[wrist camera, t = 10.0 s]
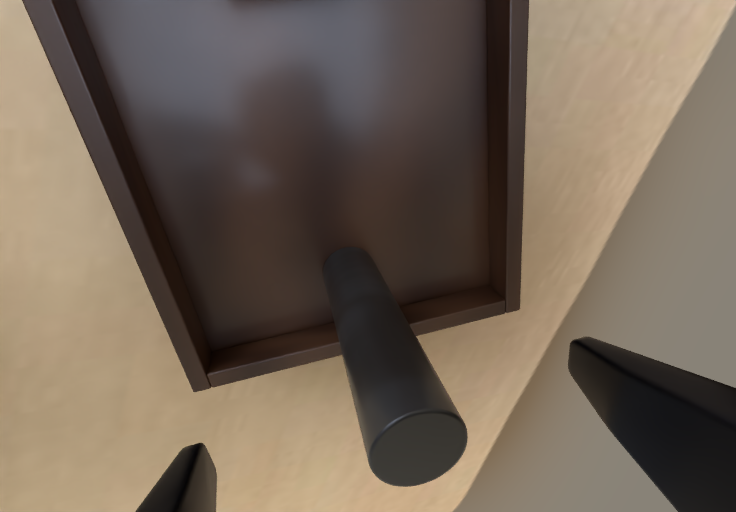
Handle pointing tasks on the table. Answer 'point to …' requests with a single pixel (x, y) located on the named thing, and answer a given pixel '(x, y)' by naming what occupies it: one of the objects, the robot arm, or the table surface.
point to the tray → (311, 184)
